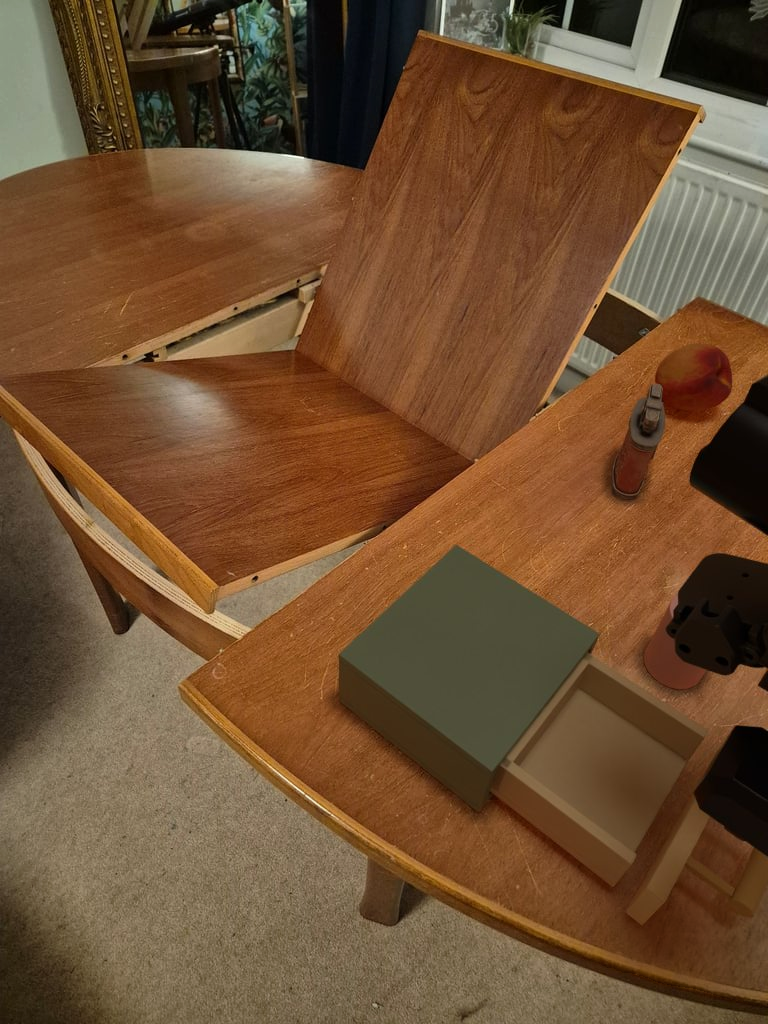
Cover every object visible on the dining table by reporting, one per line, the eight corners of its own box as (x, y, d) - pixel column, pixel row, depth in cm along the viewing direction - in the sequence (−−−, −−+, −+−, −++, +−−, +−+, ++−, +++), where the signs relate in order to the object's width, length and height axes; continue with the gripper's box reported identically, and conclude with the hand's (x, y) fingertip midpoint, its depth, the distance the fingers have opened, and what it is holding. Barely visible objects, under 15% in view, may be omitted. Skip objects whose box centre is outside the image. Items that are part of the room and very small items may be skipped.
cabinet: (580, 680, 61) (600, 633, 56) (478, 813, 53) (492, 771, 48) (447, 593, 67) (456, 544, 62) (338, 700, 59) (338, 653, 54)
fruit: (675, 432, 85) (700, 374, 79) (634, 392, 90) (654, 334, 84) (730, 418, 87) (757, 361, 81) (686, 380, 92) (709, 323, 87)
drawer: (787, 816, 53) (818, 787, 49) (712, 981, 45) (743, 960, 42) (575, 677, 60) (589, 643, 57) (481, 799, 53) (491, 768, 49)
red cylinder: (710, 662, 63) (743, 612, 58) (687, 700, 60) (718, 651, 55) (658, 631, 65) (685, 580, 60) (633, 666, 62) (659, 616, 57)
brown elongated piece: (639, 504, 76) (671, 428, 69) (606, 496, 77) (634, 420, 70) (646, 456, 82) (676, 381, 74) (615, 449, 82) (641, 373, 75)
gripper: (797, 431, 41) (701, 605, 52) (641, 636, 31) (562, 799, 42) (1025, 531, 36) (866, 700, 47) (930, 815, 26) (755, 946, 37)
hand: (764, 773), depth 43 cm, fingers open, 9 cm apart
